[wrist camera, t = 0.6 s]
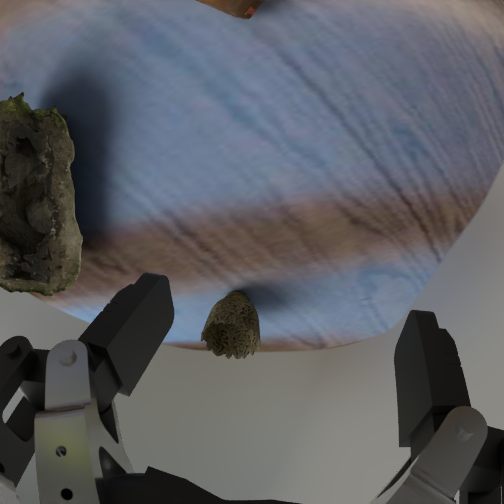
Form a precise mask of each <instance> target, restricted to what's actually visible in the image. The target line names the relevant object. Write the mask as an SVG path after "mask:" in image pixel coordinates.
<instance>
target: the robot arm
mask: <svg viewBox="0 0 504 504" xmlns="http://www.w3.org/2000/svg"><path fill="white" fill-rule="evenodd" d="M173 320H174V307H173V301H172V296H171V291H170V285H169V280H168V278H167V277H166V276H164V275H159V274H153V273H144V274H143V275H142V276H141V277H140V278H139V279H138V280H137V281H136V283H135V284H134V285H133V284H130V285H128V286H127V287H125V288H123V289H122V290H120V291H119V292H118V293H117V294H116V295H115V296H114V297H113V298H112V300H111V301H110V304H109V303H108V304H107V305H106V306H105V308H104V309H103V311H101V312H100V313H99V315H98V316H97V317H96V318H95V319H94V321H93V322H92V323H91V324H90V325H89V327H88V328H87V329H86V330H85V331H84V333H83V334H82V335H81V336H80V338H79V339H78V340H65V341H62V342H60V343H58V344H57V345H55V346H54V347H53V348H52V349H51V350H41V349H33V347H32V345H31V344H30V342H29V340H28V339H27V338H26V337H23V336H15V337H12V338H10V339H8V340H6V341H5V342H4V343H3V344H2V345H1V346H0V504H21V499H20V497H19V496H18V495H17V494H16V487H17V485H18V483H19V481H20V479H21V477H22V475H23V473H24V471H25V469H26V467H27V465H28V463H29V462H30V460H31V458H32V456H33V454H34V452H35V458H36V472H37V482H38V491H39V500H40V504H299V503H292V502H284V501H277V500H242V501H241V500H236V501H235V500H230V501H229V500H223V499H221V498H219V497H217V496H215V495H213V494H211V493H210V492H208V491H206V490H204V489H202V488H200V487H198V486H197V485H195V484H193V483H192V482H190V481H188V480H187V479H184V478H180V477H178V476H175V475H172V474H169V473H166V472H163V471H160V470H158V469H155V468H152V467H149V466H148V468H147V470H146V472H145V473H134V470H133V467H132V465H131V462H130V460H129V458H128V456H127V454H126V452H125V449H124V446H123V441H122V437H121V431H120V427H119V422H118V416H117V411H116V405H115V401H114V397H115V395H116V394H117V392H118V393H121V394H123V395H126V396H130V394H131V393H132V391H133V389H134V388H135V386H136V384H137V382H138V381H139V379H140V378H141V376H142V374H143V373H144V371H145V369H146V368H147V366H148V364H149V363H150V361H151V359H152V357H153V356H154V354H155V353H156V351H157V349H158V347H159V346H160V344H161V343H162V341H163V340H164V338H165V336H166V335H167V333H168V331H169V330H170V328H171V326H172V324H173ZM394 365H395V376H396V387H397V403H398V423H399V447H411V456H410V457H409V458H408V459H407V460H406V461H405V463H404V464H403V465H402V467H401V468H400V469H399V471H397V473H396V474H395V475H394V476H393V477H392V479H391V480H390V481H389V482H388V483H387V484H386V486H385V487H384V488H383V489H382V490H381V491H380V492H379V493H378V494H377V496H376V497H375V498H374V499H373V500H372V501H371V502H370V503H369V504H456V500H454V497H455V495H456V493H457V491H458V490H460V496H459V504H501V486H502V504H504V430H500V429H496V428H493V427H490V426H487V423H486V421H485V418H484V417H483V415H482V414H481V413H480V412H479V411H477V410H476V409H474V408H472V407H471V404H470V399H469V395H468V390H467V386H466V382H465V378H464V374H463V370H462V367H461V366H460V365H461V362H460V359H459V356H458V352H457V348H456V345H455V342H454V340H453V338H452V337H451V336H450V334H449V333H448V332H447V330H446V329H440V328H439V326H438V323H437V319H436V317H435V314H434V312H429V311H419V310H411V311H410V313H409V315H408V317H407V320H406V323H405V325H404V328H403V330H402V332H401V335H400V337H399V340H398V342H397V345H396V348H395V354H394ZM18 389H19V390H20V391H21V393H22V394H23V395H24V396H23V398H22V399H21V401H20V402H19V404H18V405H17V407H16V408H15V410H14V411H13V413H12V414H11V416H10V418H9V419H8V421H7V422H6V423H4V422H3V418H2V414H3V410H4V409H5V407H6V406H7V404H8V403H9V401H10V400H11V398H12V397H13V395H14V394H15V392H16V391H17V390H18Z"/></svg>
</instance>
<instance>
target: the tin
mask: <svg viewBox="0 0 504 504" xmlns="http://www.w3.org/2000/svg"><path fill="white" fill-rule="evenodd" d="M196 1H199V2H201V3H204V4H206V5H208V6H211V7H213V8H216V9H218V10H220V11H222V12H225V13H227V14H230V15H232V16H235V17H238V18H242V19H249V18H251V16H252V15H253V14H254V12H255V11H256V9H257V8H258V7H259V5H260V4H261V3H262V2H264V0H196Z"/></svg>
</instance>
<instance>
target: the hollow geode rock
mask: <svg viewBox="0 0 504 504" xmlns="http://www.w3.org/2000/svg"><path fill="white" fill-rule="evenodd" d="M23 97H24V93H23V92H22V93H21V94H20V95H18V96H16V97H14V98H12V97H11V96H10V98H9V99H8V100H5V101H0V287H2V288H3V289H5V290H7V291H9V292H15V291H19V292H36V293H40V294H42V295H44V296H52V295H53V293H54V292H55V293H58V292H60V291H64V290H66V289H67V288H68V287H69V286H70V285H71V284H72V283H73V282H75V281H76V279H77V277H78V276H79V271H80V270H81V256H80V255H81V250H82V248H81V244H82V242H83V235H81V234H80V231H79V227H78V223H77V221H76V219H75V203H74V193H75V190H74V186H73V181H72V179H71V171H70V164H71V163H72V162H73V160H74V156H75V151H74V145H73V141H72V140H71V139H70V136H69V132H68V129H67V125H66V120H67V117H68V116H67V115H63V114H59V113H58V112H57V109H56V107H55V106H54V107H52V108H51V109H50V110H40V109H36V110H31V108H30V107H29V104H28V103H25V102H23ZM41 234H42V235H41Z"/></svg>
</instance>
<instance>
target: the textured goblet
mask: <svg viewBox="0 0 504 504" xmlns="http://www.w3.org/2000/svg"><path fill="white" fill-rule="evenodd" d="M201 335H202V336H201V341H203V340H205V342H207V346H206V348H207V350H208V351H209V350H212V352H213V353H214V354H215V355H216V356H221V355H223V354H226V357H227V358H228V359H229V358H230V357H231V356H232V353H233V355H234V357H235V358H236V359H239V358H241V356H242V357H243V358H245V357H246V356H247V354H249V352H250V353H251V354H252V355H253V354H254V350H259V348H260V344H261V342H260V329H259V319H258V314H257V311H256V309H255V307H254V306H253V305H252V304H251V303H250V300H249V298H248V297H247V295H245V294H244V293H242V292H238V291H234V292H230V293H229V294H227V295H226V296H225V298H223V299H221V300H220V301H218V302H217V303H216V304H215V305H214V307H213V308H212V310H211V312H210V314H209V316H208V319H207V321H206V324H205V326H204V329H203V331H202V333H201Z"/></svg>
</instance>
